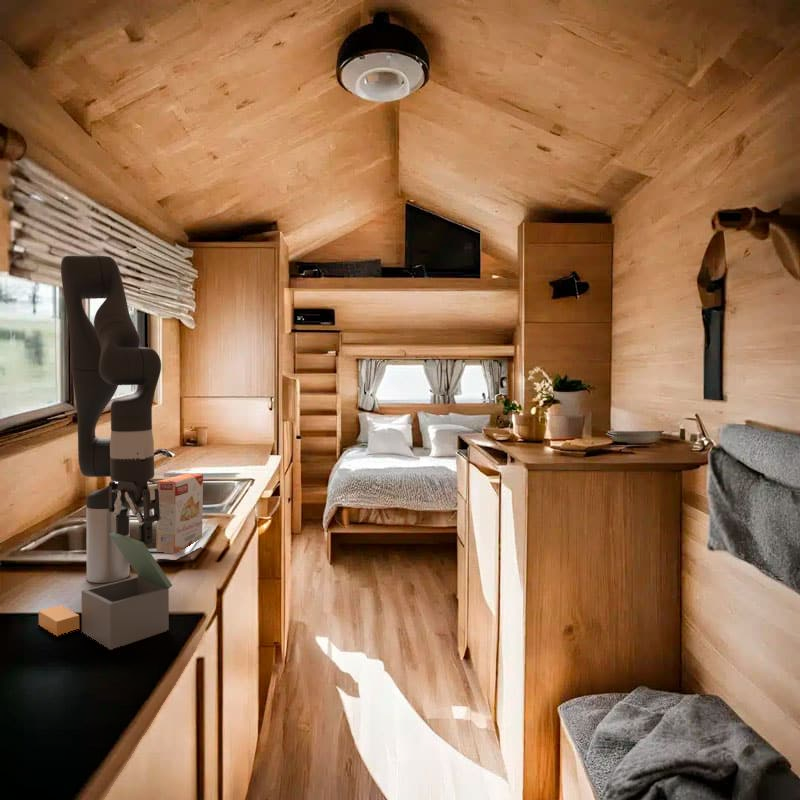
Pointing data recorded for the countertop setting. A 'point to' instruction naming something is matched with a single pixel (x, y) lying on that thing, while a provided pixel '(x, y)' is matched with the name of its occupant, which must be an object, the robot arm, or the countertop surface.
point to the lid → (140, 559)
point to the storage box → (125, 611)
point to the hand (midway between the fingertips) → (134, 539)
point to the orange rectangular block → (58, 620)
